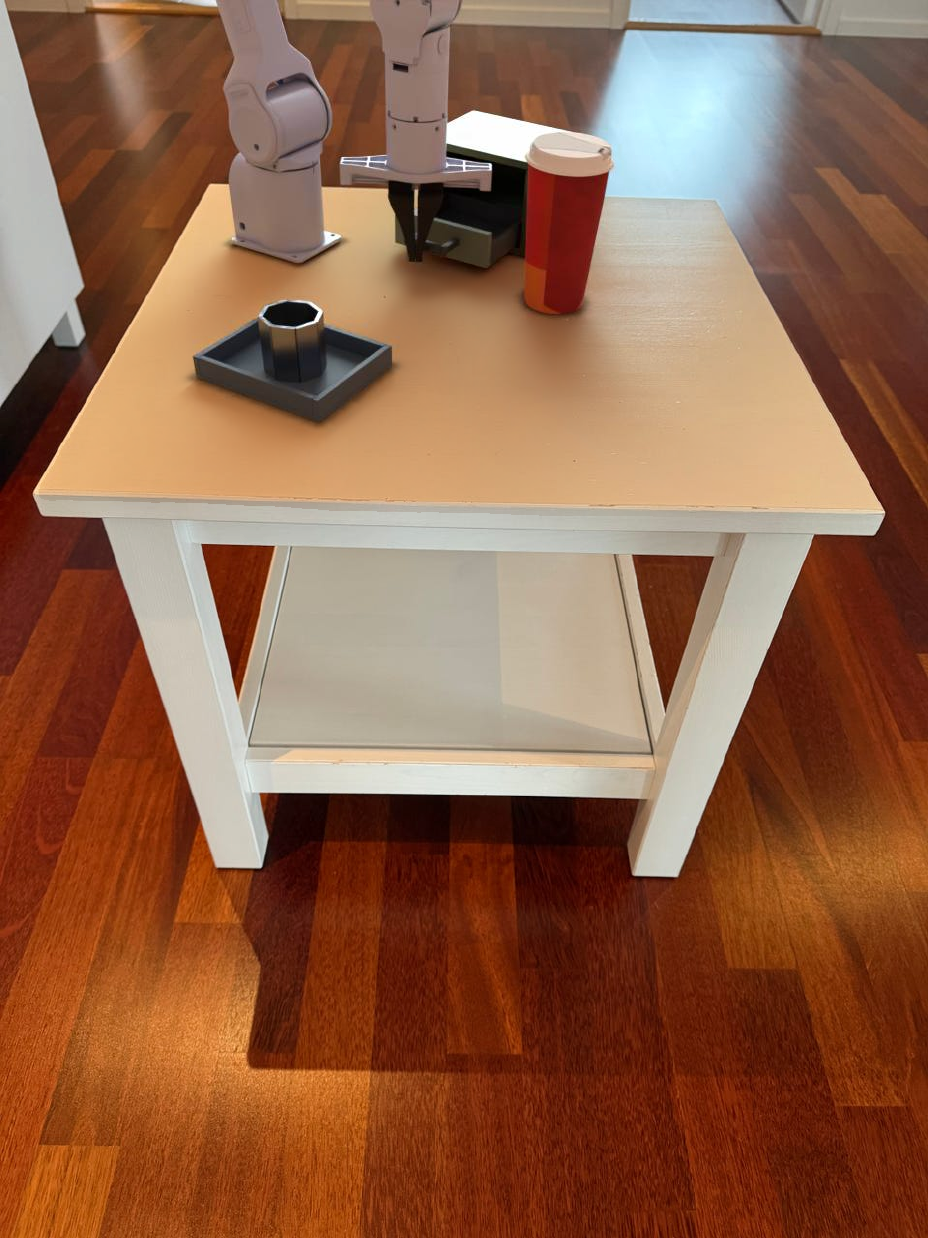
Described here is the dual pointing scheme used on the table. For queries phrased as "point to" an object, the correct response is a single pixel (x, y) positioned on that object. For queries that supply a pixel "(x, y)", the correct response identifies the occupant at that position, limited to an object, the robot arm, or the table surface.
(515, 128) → the cabinet
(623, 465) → the table surface
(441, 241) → the drawer
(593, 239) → the coffee cup
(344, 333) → the tray
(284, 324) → the faceted metal cup
